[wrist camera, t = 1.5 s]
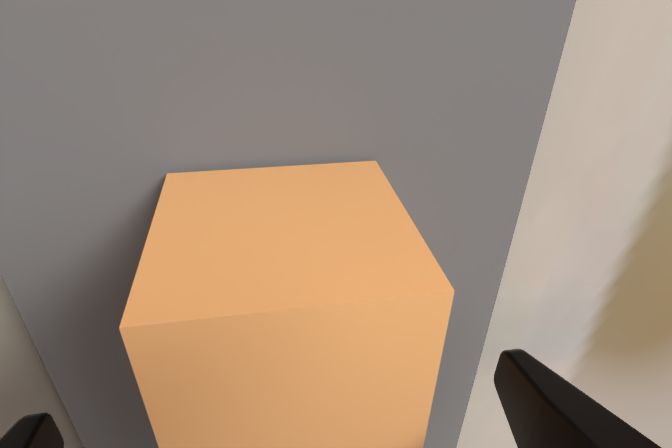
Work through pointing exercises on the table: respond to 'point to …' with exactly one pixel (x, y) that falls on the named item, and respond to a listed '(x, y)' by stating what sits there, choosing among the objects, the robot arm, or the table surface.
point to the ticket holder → (255, 151)
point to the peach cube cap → (286, 311)
